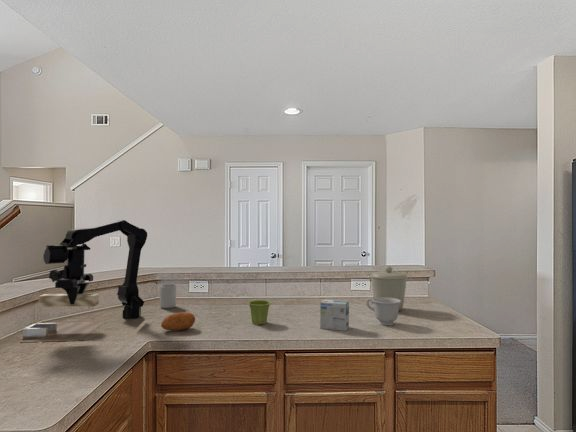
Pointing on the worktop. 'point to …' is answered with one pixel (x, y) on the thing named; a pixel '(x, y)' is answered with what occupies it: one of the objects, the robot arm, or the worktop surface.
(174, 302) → the can
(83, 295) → the rail
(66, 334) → the mounting board
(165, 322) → the potato
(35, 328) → the cup bracket
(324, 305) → the light bulb box
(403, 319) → the worktop surface
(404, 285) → the canister
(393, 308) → the teacup
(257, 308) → the plant pot
